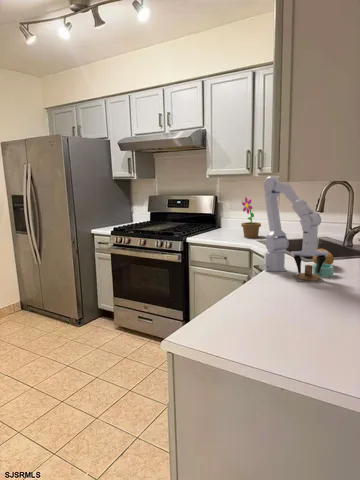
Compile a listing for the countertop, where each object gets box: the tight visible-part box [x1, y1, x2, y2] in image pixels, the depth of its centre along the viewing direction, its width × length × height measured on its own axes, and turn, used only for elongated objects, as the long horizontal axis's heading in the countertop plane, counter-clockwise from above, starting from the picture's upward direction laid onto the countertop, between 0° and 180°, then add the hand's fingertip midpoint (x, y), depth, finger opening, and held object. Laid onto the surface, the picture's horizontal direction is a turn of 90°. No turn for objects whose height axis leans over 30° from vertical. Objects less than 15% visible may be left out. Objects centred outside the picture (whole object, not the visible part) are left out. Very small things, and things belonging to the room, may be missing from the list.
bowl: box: [312, 263, 335, 278], centre depth 146 cm, size 8×8×4 cm
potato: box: [312, 248, 335, 265], centre depth 158 cm, size 10×14×8 cm
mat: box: [292, 274, 325, 283], centre depth 140 cm, size 11×9×1 cm
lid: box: [296, 264, 320, 281], centre depth 140 cm, size 9×9×6 cm
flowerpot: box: [241, 196, 262, 239], centre depth 241 cm, size 14×14×30 cm
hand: (308, 272), depth 140 cm, fingers open, 7 cm apart
